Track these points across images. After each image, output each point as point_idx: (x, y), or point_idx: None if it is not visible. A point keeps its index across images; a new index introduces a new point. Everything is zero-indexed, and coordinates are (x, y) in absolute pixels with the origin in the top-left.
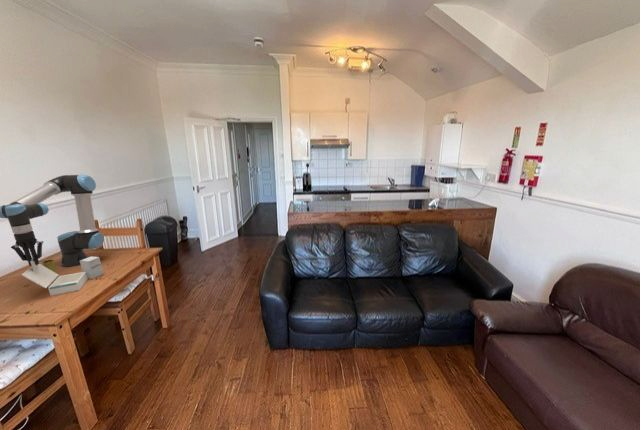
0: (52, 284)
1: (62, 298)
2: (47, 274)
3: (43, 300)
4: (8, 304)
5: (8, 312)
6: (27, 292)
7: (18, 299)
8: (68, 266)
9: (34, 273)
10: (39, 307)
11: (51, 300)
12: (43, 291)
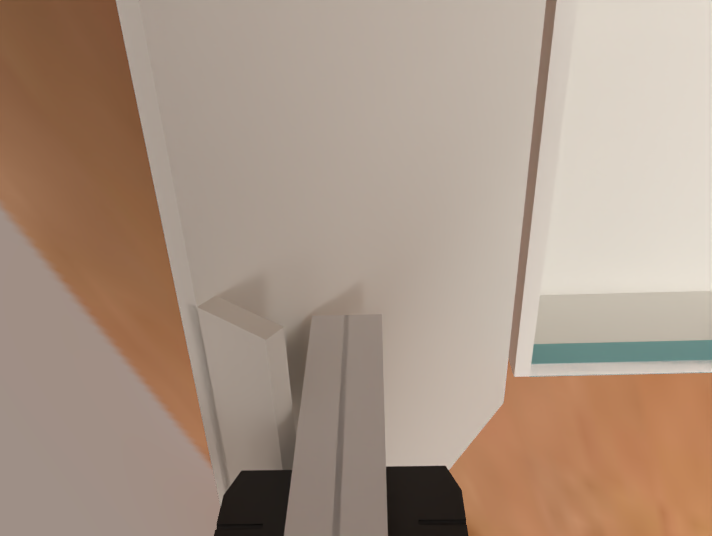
0: (540, 287)
1: (625, 404)
2: (460, 144)
3: None
4: (112, 312)
5: None
6: (121, 37)
7: (143, 228)
8: None
9: None
10: (465, 484)
11: (530, 402)
12: None
